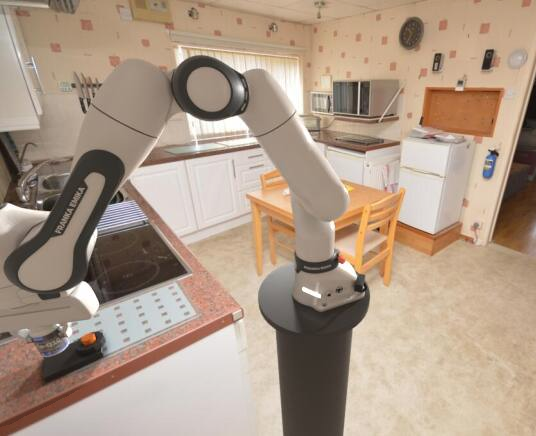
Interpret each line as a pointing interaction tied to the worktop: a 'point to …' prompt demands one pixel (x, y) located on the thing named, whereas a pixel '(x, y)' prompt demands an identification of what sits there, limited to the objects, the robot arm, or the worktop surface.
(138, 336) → the worktop surface
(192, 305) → the worktop surface
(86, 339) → the tare button
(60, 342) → the pill bottle
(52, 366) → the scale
